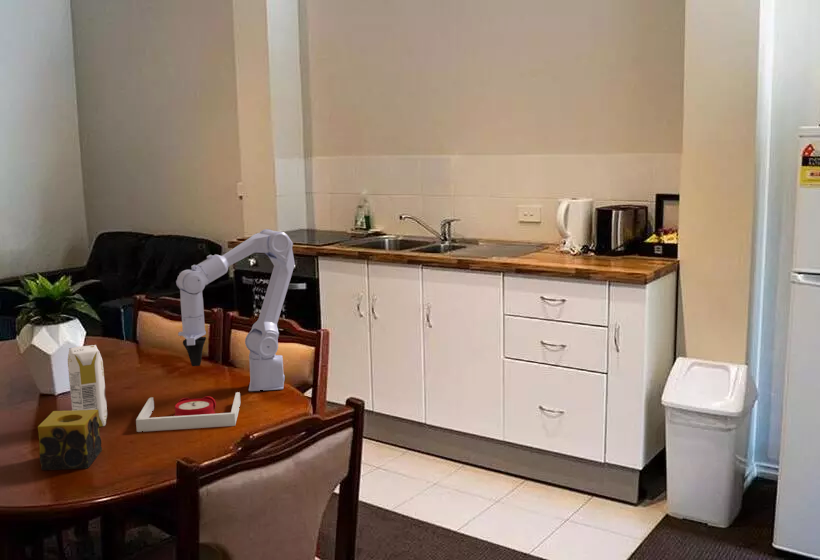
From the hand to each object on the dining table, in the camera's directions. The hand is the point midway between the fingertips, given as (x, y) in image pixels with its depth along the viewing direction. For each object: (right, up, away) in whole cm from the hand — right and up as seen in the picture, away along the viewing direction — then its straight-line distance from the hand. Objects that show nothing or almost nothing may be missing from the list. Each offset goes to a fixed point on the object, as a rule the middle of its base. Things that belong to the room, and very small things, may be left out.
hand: (196, 365), depth 214 cm
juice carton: (-22, -13, -16) cm, 30 cm away
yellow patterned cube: (-16, -17, -39) cm, 46 cm away
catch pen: (+2, -12, -12) cm, 17 cm away
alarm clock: (+3, -12, -12) cm, 18 cm away
